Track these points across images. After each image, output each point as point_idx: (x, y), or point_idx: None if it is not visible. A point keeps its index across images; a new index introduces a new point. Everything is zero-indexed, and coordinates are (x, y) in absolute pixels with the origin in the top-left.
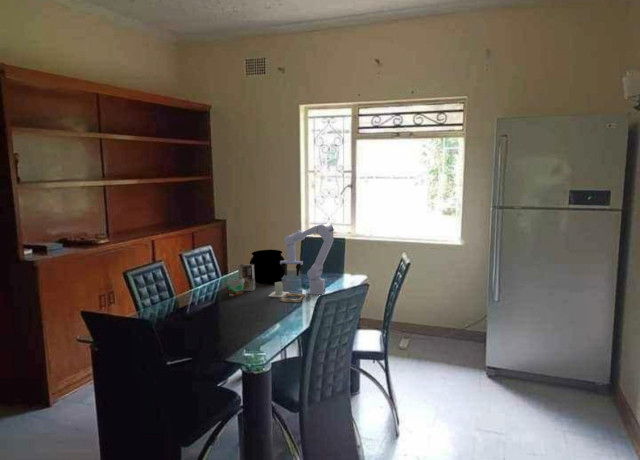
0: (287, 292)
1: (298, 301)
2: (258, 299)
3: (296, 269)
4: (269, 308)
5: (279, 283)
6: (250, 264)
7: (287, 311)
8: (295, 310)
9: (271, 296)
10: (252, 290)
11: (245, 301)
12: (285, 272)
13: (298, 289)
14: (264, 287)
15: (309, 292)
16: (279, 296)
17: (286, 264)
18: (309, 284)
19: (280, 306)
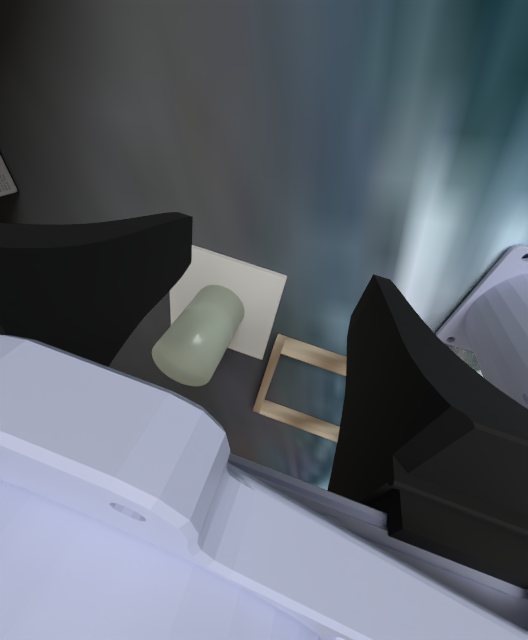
0: (273, 287)
1: None
2: (148, 354)
3: (343, 425)
4: (232, 443)
5: (198, 385)
6: None
7: (299, 478)
8: (327, 481)
9: None
10: (12, 191)
11: (110, 363)
12: (160, 296)
13: (375, 182)
14: (22, 69)
15: (458, 329)
16: (236, 350)
17: (28, 330)
18: (487, 372)
19: (267, 442)
